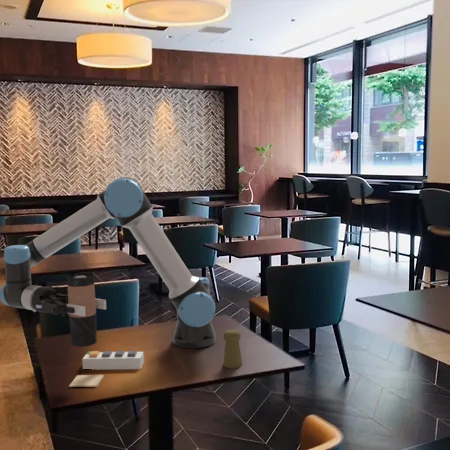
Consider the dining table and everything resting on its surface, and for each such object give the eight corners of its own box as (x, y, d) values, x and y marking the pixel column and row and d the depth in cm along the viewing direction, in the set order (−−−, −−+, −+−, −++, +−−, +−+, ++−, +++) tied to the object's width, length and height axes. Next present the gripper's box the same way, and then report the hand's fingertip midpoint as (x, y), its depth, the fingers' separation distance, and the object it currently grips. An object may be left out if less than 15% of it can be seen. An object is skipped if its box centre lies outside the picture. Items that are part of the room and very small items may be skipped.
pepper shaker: (228, 369, 173) (227, 334, 172) (219, 363, 179) (218, 329, 178) (245, 365, 176) (245, 331, 175) (236, 360, 182) (235, 326, 180)
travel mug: (98, 345, 162) (95, 277, 160) (70, 348, 160) (66, 279, 158) (96, 337, 170) (93, 271, 167) (70, 339, 168) (66, 273, 165)
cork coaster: (103, 376, 170) (103, 374, 170) (96, 387, 162) (96, 385, 162) (77, 377, 170) (77, 375, 170) (69, 387, 162) (69, 385, 162)
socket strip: (143, 362, 181) (143, 348, 181) (140, 369, 176) (140, 355, 175) (88, 362, 182) (87, 349, 182) (82, 369, 176) (82, 356, 176)
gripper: (66, 303, 182) (120, 312, 170) (13, 319, 165) (68, 330, 153) (65, 280, 181) (119, 287, 169) (11, 293, 164) (66, 303, 152)
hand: (94, 308), depth 161 cm, fingers closed on travel mug, 7 cm apart
